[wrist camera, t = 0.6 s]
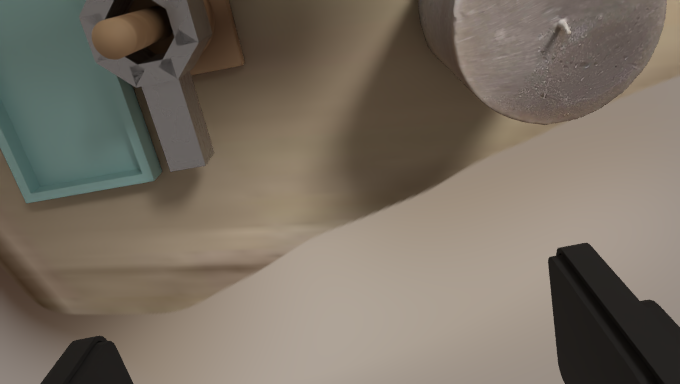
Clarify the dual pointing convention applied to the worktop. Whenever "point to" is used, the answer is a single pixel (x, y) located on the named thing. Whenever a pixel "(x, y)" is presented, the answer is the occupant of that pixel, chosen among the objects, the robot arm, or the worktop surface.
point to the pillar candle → (544, 51)
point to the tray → (65, 107)
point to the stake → (169, 35)
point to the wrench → (164, 76)
